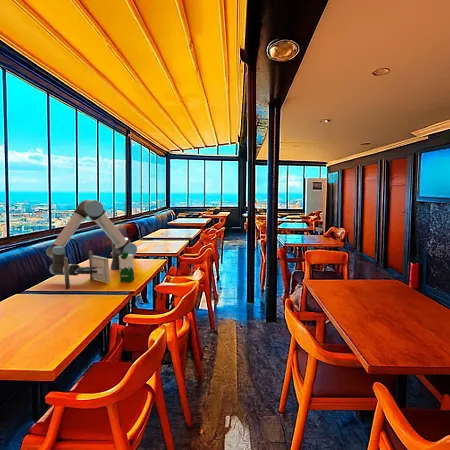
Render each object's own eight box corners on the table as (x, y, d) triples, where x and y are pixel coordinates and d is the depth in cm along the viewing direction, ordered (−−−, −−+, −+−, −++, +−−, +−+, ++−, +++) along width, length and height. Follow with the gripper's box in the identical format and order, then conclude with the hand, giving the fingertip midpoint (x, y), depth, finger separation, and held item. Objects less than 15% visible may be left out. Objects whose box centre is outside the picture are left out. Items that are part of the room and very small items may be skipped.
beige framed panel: (91, 278, 237) (90, 255, 235) (94, 277, 239) (93, 255, 237) (106, 282, 224) (105, 259, 223) (109, 282, 226) (108, 258, 225)
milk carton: (118, 282, 228) (117, 253, 227) (123, 279, 237) (122, 251, 236) (131, 282, 228) (129, 253, 226) (135, 279, 237) (134, 251, 235)
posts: (91, 278, 241) (90, 250, 239) (94, 278, 240) (93, 250, 238) (64, 289, 214) (62, 258, 212) (67, 289, 213) (66, 258, 212)
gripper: (79, 272, 236) (109, 274, 231) (64, 277, 222) (96, 279, 216) (78, 262, 236) (109, 263, 230) (64, 266, 221) (96, 268, 216)
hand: (103, 271), depth 223 cm, fingers open, 2 cm apart
